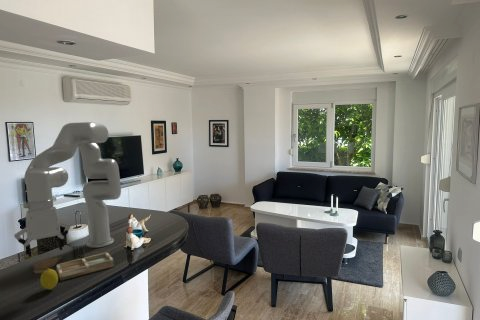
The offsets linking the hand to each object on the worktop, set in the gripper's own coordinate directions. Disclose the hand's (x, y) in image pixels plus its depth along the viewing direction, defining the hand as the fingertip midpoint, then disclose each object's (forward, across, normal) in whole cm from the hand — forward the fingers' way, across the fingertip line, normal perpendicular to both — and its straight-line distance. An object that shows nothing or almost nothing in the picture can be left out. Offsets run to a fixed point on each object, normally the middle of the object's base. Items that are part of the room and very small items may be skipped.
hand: (45, 252), depth 121 cm
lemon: (+14, 0, +1) cm, 15 cm away
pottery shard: (+14, +1, +27) cm, 30 cm away
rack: (+14, +14, +12) cm, 23 cm away
